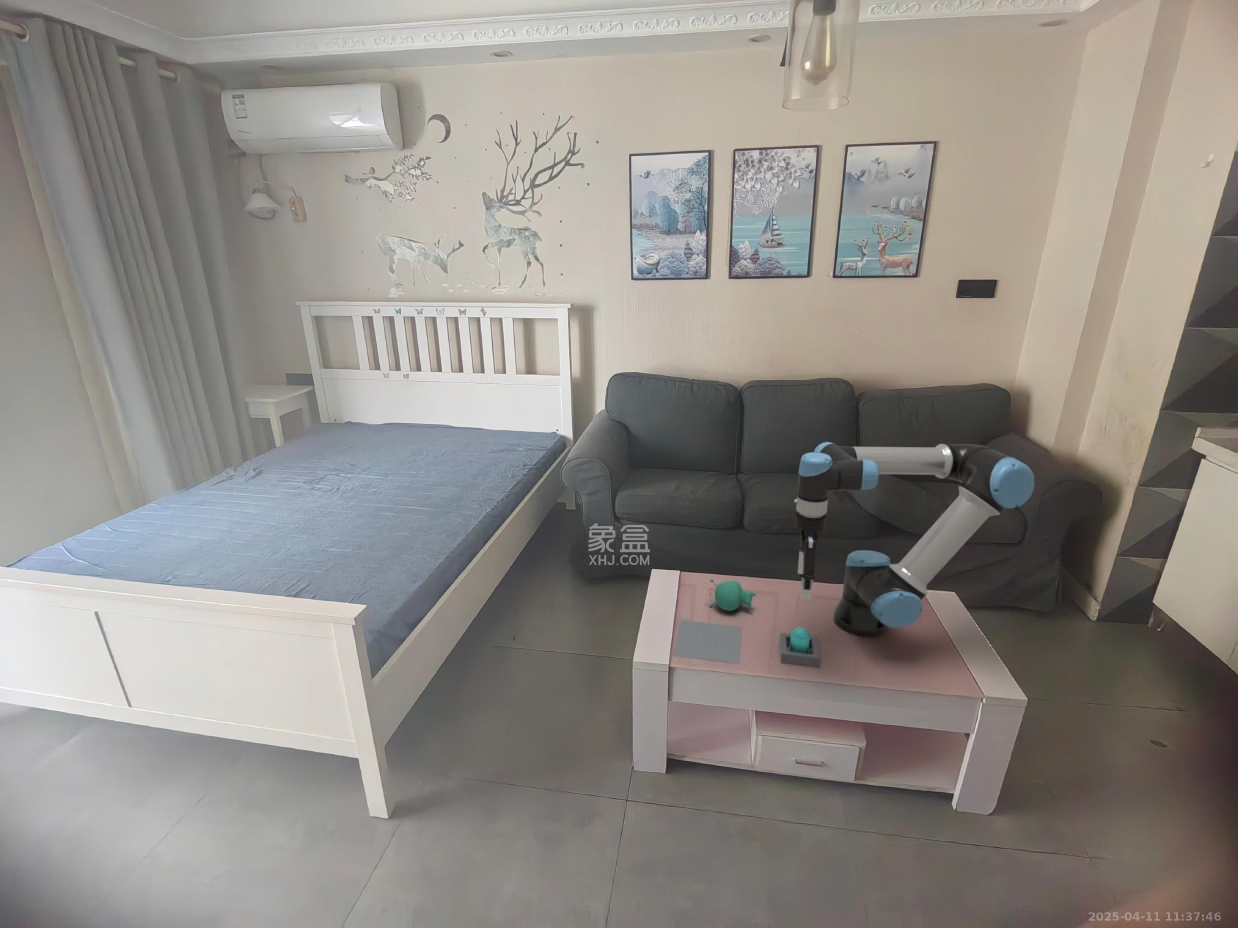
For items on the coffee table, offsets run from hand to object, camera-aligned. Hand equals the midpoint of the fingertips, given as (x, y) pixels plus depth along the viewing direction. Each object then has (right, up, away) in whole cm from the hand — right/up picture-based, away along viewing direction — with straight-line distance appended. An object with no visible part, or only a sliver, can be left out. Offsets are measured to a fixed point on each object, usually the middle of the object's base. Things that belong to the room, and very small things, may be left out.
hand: (804, 585), depth 164 cm
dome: (0, -19, +6) cm, 20 cm away
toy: (-8, -10, +25) cm, 28 cm away
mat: (-24, -19, +13) cm, 33 cm away
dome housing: (0, -20, +7) cm, 22 cm away
